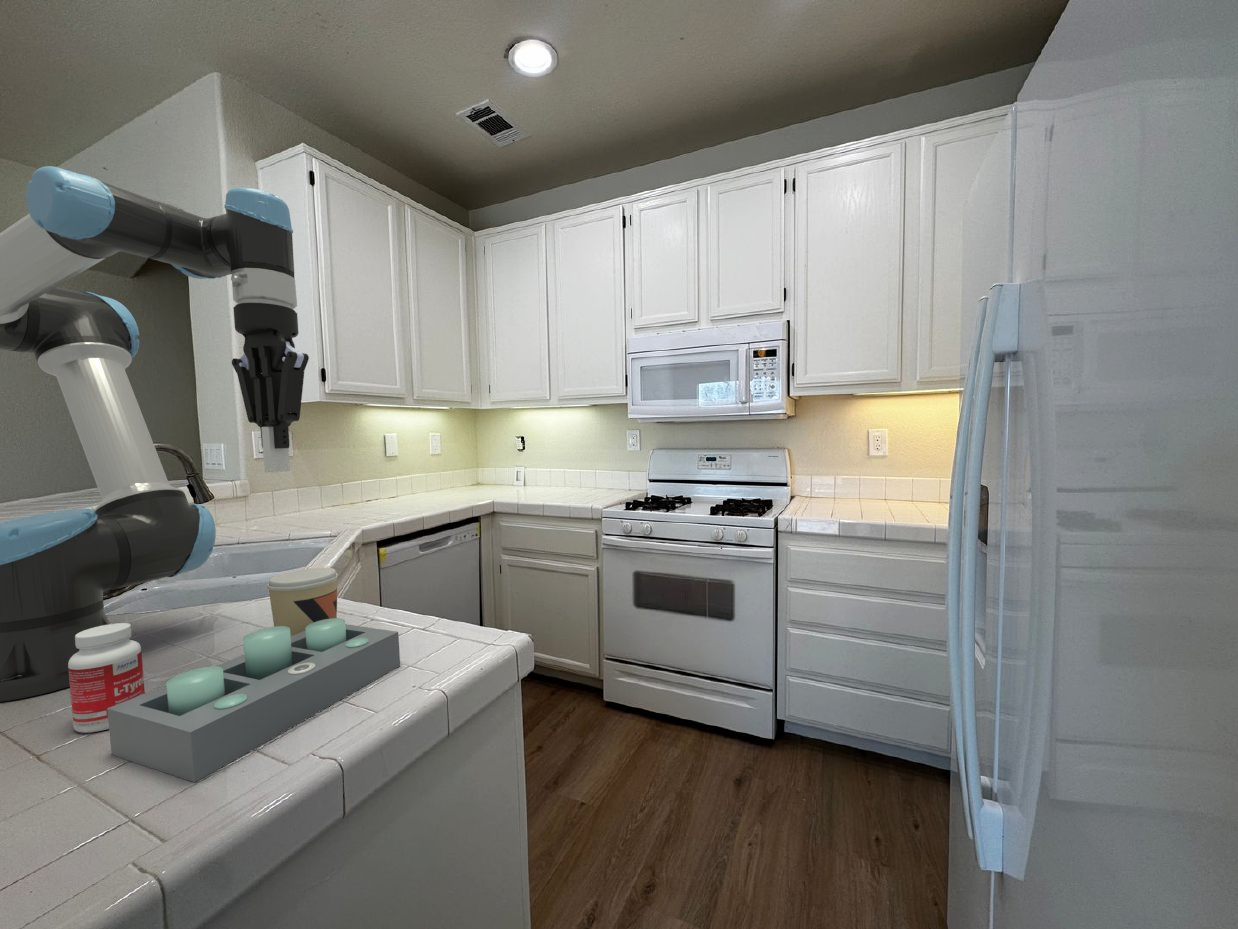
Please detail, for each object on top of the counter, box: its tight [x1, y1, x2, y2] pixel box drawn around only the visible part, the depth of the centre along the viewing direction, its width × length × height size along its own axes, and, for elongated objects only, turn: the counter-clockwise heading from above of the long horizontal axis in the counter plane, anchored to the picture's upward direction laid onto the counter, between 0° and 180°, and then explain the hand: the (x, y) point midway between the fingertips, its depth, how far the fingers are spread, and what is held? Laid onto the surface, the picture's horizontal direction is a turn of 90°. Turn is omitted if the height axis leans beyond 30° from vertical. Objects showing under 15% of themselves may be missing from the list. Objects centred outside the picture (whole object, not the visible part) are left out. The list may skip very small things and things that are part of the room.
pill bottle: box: [68, 622, 146, 734], centre depth 61 cm, size 6×6×11 cm
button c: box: [305, 617, 346, 652], centre depth 71 cm, size 5×5×5 cm
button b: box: [242, 626, 293, 680], centre depth 64 cm, size 5×5×5 cm
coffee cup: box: [267, 567, 339, 636], centre depth 80 cm, size 9×9×12 cm
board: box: [107, 623, 401, 784], centre depth 63 cm, size 14×26×5 cm, turn 159°
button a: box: [165, 665, 225, 716], centre depth 56 cm, size 5×5×5 cm
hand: (277, 471), depth 74 cm, fingers closed
